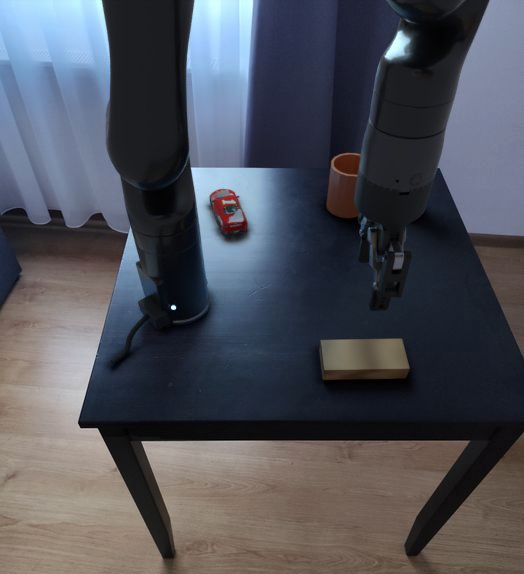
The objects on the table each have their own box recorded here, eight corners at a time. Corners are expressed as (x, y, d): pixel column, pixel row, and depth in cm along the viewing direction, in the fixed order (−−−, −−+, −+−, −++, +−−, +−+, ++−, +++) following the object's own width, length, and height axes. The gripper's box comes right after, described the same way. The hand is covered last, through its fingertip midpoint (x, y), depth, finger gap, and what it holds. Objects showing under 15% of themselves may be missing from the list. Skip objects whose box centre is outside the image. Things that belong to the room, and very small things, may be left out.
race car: (207, 200, 96) (205, 182, 93) (234, 195, 97) (232, 177, 94) (221, 240, 88) (220, 221, 85) (250, 234, 89) (249, 216, 86)
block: (322, 379, 68) (324, 370, 66) (319, 349, 72) (320, 339, 70) (405, 378, 68) (409, 368, 67) (398, 348, 72) (402, 338, 70)
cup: (346, 223, 91) (352, 181, 84) (318, 204, 95) (322, 162, 88) (374, 207, 94) (383, 165, 87) (345, 190, 98) (352, 148, 91)
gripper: (349, 130, 52) (334, 248, 64) (372, 209, 43) (350, 327, 56) (418, 128, 52) (389, 246, 64) (456, 206, 43) (414, 325, 56)
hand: (371, 283), depth 60 cm, fingers open, 8 cm apart
